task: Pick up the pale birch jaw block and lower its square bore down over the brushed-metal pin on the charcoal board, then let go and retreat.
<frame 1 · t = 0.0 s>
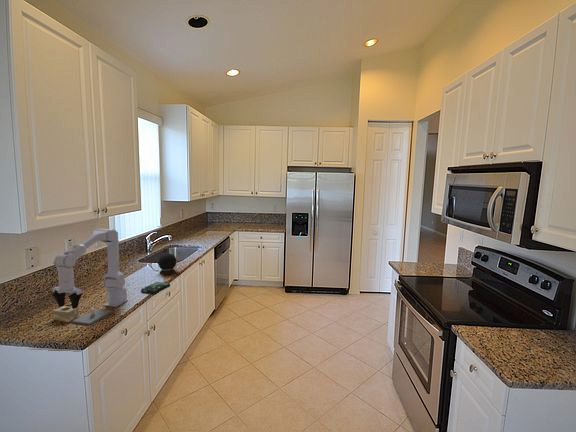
hand: (68, 307, 139), 10 cm above the counter, fingers open, 7 cm apart
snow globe: (167, 272, 224), on the counter
jaw block: (66, 318, 149), on the counter
disk drive: (156, 290, 190), on the counter
pin board: (93, 317, 150), on the counter
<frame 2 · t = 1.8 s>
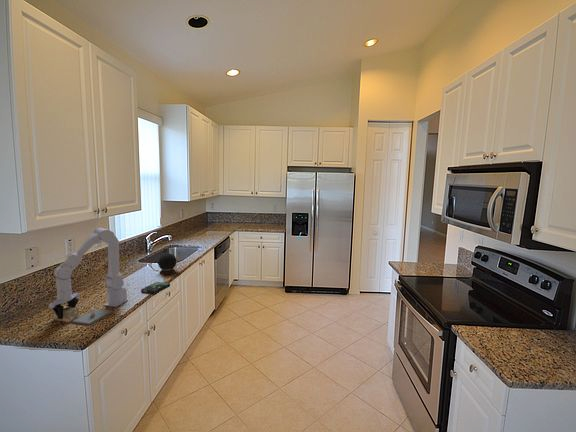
hand: (66, 315, 148), 1 cm above the counter, fingers closed on jaw block, 6 cm apart
jaw block: (66, 318, 149), on the counter, touching gripper
everything else where it was.
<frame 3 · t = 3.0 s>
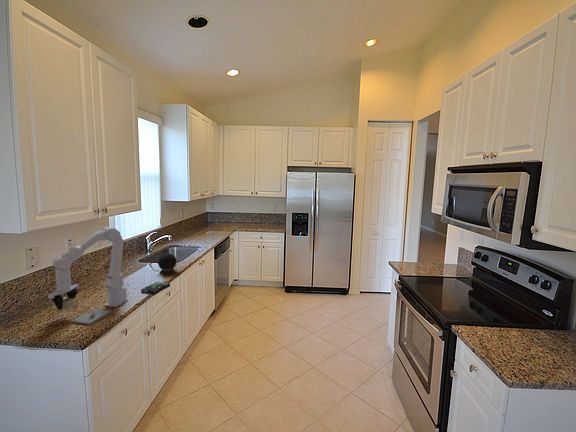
hand: (65, 306, 148), 6 cm above the counter, fingers closed on jaw block, 6 cm apart
jaw block: (65, 309, 148), point 5 cm above the counter, touching gripper
everything else where it was.
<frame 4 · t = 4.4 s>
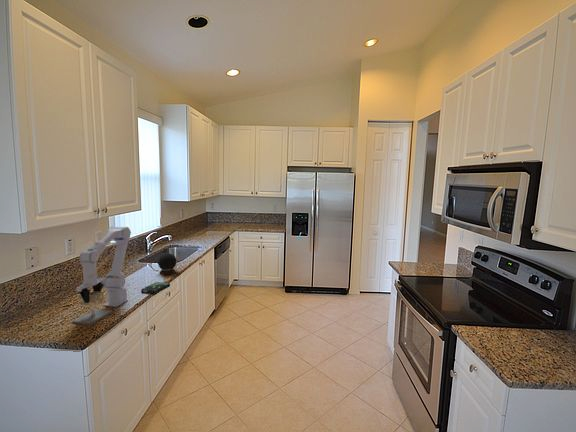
hand: (92, 300, 149), 9 cm above the counter, fingers closed on jaw block, 6 cm apart
jaw block: (91, 302, 149), point 8 cm above the counter, touching gripper
everything else where it was.
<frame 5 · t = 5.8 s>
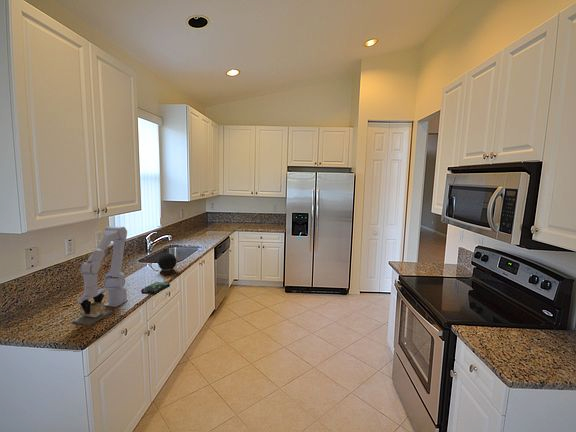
hand: (92, 311, 150), 3 cm above the counter, fingers closed on jaw block, 6 cm apart
jaw block: (92, 313, 150), point 2 cm above the counter, touching gripper
everything else where it was.
when the fingers open (3 cm above the counter, at t = 7.0 s): jaw block stays where it is, resting on pin board.
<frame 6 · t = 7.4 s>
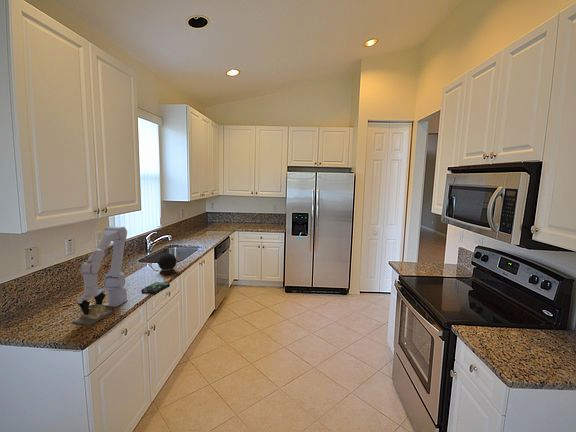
hand: (92, 311, 150), 3 cm above the counter, fingers open, 7 cm apart
jaw block: (92, 315, 150), point 1 cm above the counter, touching pin board
everything else where it was.
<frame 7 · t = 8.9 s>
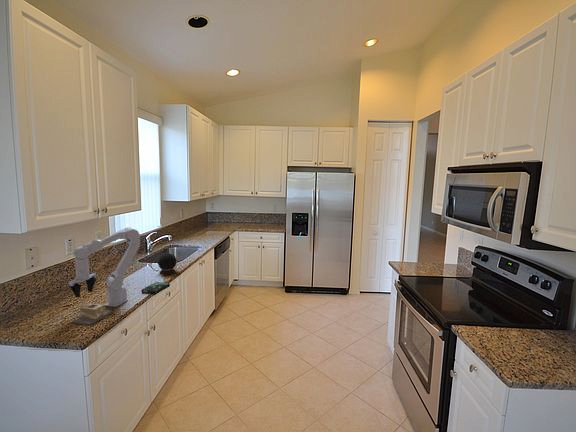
hand: (84, 294, 156), 9 cm above the counter, fingers open, 7 cm apart
nothing on the counter moved.
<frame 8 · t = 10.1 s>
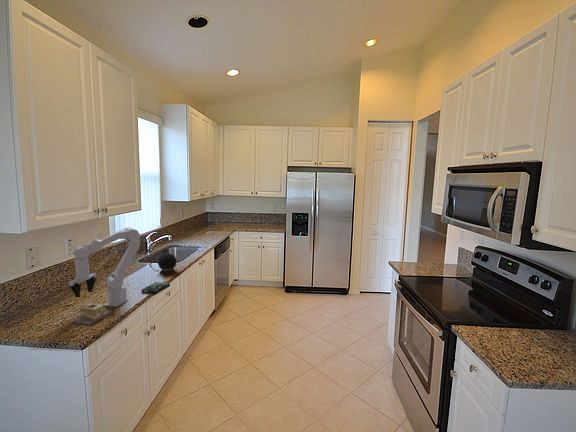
hand: (84, 294, 156), 9 cm above the counter, fingers open, 7 cm apart
nothing on the counter moved.
at the end: jaw block 0.1 cm from the pin board (horizontally); jaw block point 1.0 cm above the counter; the gripper is holding nothing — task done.
